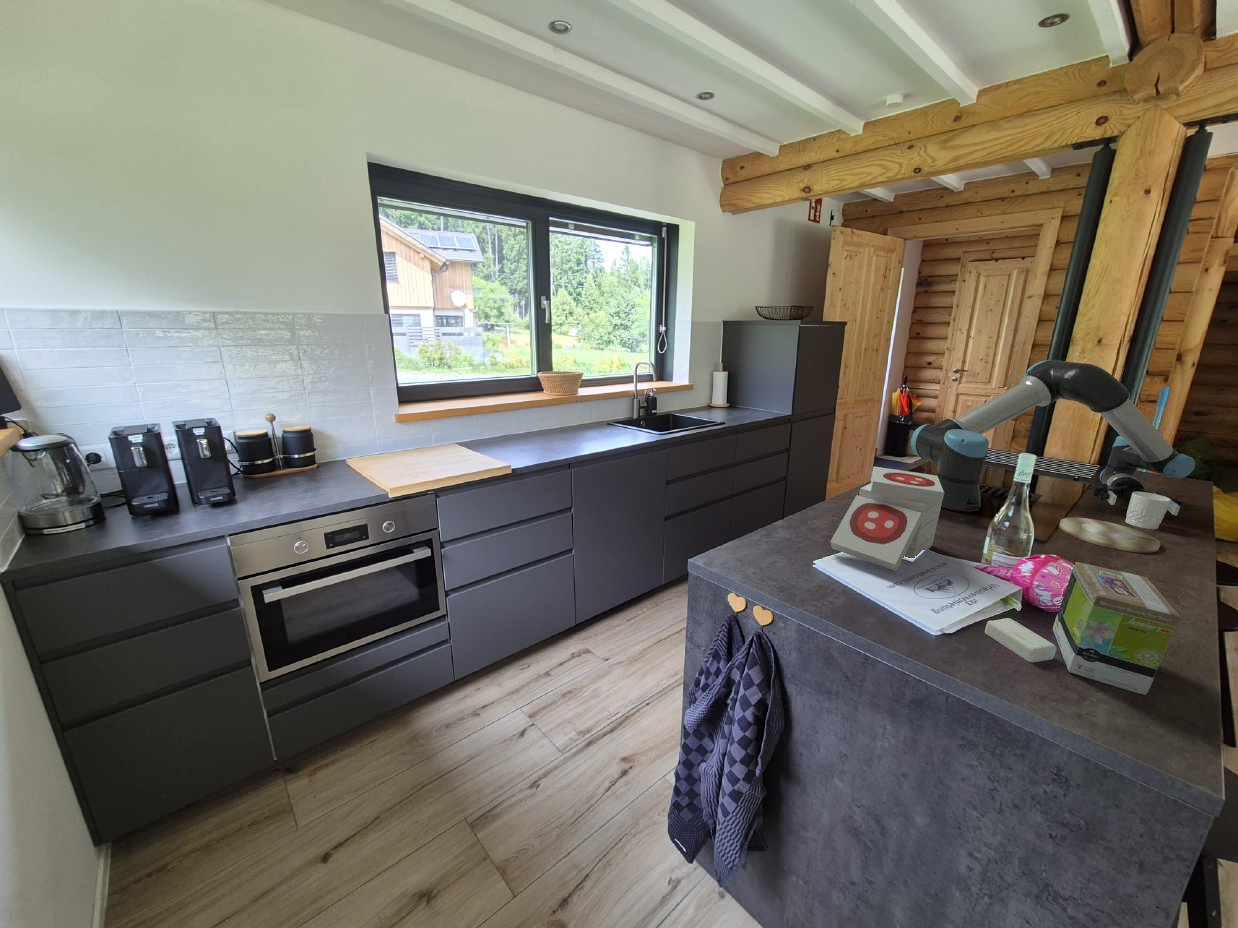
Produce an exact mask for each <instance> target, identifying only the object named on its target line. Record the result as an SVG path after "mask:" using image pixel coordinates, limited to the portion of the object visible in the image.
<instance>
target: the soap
mask: <svg viewBox="0 0 1238 928" xmlns="http://www.w3.org/2000/svg"><path fill="white" fill-rule="evenodd" d="M984 633H985V634H986V635H987V636H989V637H991V638H992V639H994V641H996V642H997V643H999V644H1001V645H1002V646H1004V647H1005V648H1007V649H1009V650H1010V651H1011V652H1013V653H1014V654H1016V655H1018V656H1019V657H1020V658H1022V659H1024V660H1025V661H1026V662H1029V663H1038V662H1044V661H1050V660H1053V659H1054V657H1055V655H1056V653H1057V646H1056V645H1055V644H1054V643H1052V642H1051V641H1049V640H1047V639H1045V638H1044V637H1042V636H1040V635H1038V634H1037V633H1036V632H1033V631H1032V630H1030V629H1029V628H1027V627H1025V626H1024V625H1022V624H1021V623H1018V622H1017V621H1015V620H1014V619H1012V618H1010V617H1008V618H1007V617H1006V618H1001V619H995V620H988V621H987V622H986V625H985V630H984Z"/></svg>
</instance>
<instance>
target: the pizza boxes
mask: <svg viewBox="0 0 1238 928" xmlns="http://www.w3.org/2000/svg"><path fill="white" fill-rule="evenodd" d="M943 496H944V491H943V489H942V486H941V484H940V481H939V479H938V476H936V475H933V474H929V473H921V472H915V471H906V470H901V469H893V468H885V467H879V466H873V467H872V472H871V477H870V482H869V483H868V484H867V485H864V486H862V487H860V489H859V494H858V495H857V494H856V496H855V497H854V499H853V500H852V502H851V504H850V506H849V508H848V509H847V510H846V513H845V515H844V517H843V518H842V520H841V522H840V523H839V525H838V527H837V529H836V531H835V533H834V534H833V536H832V538H831V539H830V546H831V548H832V549H833V550H836V551H839V552H840V553H841V552H842V553H844V554H847V555H849V556H852V557H855V558H857V559H861V560H863V561H866V562H869V563H872V564H874V565H878V566H880V567H883V568H885V569H889V570H892V571H894V572H898V569H899V567H900V566H901V563H902V562H903V561H904V560H903V558H904V556H905V557H908V558H915V556H917V555H918V554H919V553H920V552H921V551H922V550H926V549H928V550H929V549H930V548H931V547H932V546H933V544H934V543H933V542H934V539H935V534H936V530H937V525H938V522H939V521H938V520H939V518H940V512H941V509H942V508H941V505H942V501H943ZM926 551H927V550H926Z"/></svg>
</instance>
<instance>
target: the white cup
mask: <svg viewBox="0 0 1238 928" xmlns="http://www.w3.org/2000/svg"><path fill="white" fill-rule="evenodd" d="M1170 502H1171V499H1169V498H1167V497H1164V496H1161V495H1157V494H1154V493H1153V492H1152V493H1147V492H1132V496H1131V499H1130V501H1129V504H1128V506H1127V507H1128V508H1127V511H1126V515H1125V516H1126V518H1125V521H1124V522H1125V523H1127V524H1129V525H1131V526H1133V527H1138V528H1141V529H1147V530H1158V529H1159V526H1160V524H1161V523H1162V521H1163V519H1164V517H1165V515H1166V513H1167V511H1168V510H1167V508H1168V506H1169V504H1170Z"/></svg>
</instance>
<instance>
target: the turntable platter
mask: <svg viewBox="0 0 1238 928" xmlns="http://www.w3.org/2000/svg"><path fill="white" fill-rule="evenodd" d="M1058 527H1059V529H1060V530H1061V531H1062V532H1064V533H1066V534H1068V535H1069V536H1071V537H1074V538H1076V539H1079V540H1081V541H1085V542H1088V543H1090V544H1093V545H1097V546H1100V547H1104V548H1109V549H1113V550H1119V551H1123V552H1129V553H1130V552H1131V553H1138V554H1139V553H1141V554H1143V553H1144V554H1149V553H1156V552H1158V551H1159V549H1160V547H1161V542H1160V541H1159V540H1158V539H1157V538H1155V537H1154V536H1152V535H1150V534H1147V533H1146V532H1143V531H1140V530H1137V529H1135V528H1133V527H1129V526H1127V525H1126V526H1125V525H1121V524H1117V523H1114V522H1110V521H1104V520H1100V519H1093V518H1087V517H1086V518H1085V517H1075V516H1074V517H1063V518H1061V519H1060V522H1059V526H1058Z"/></svg>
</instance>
